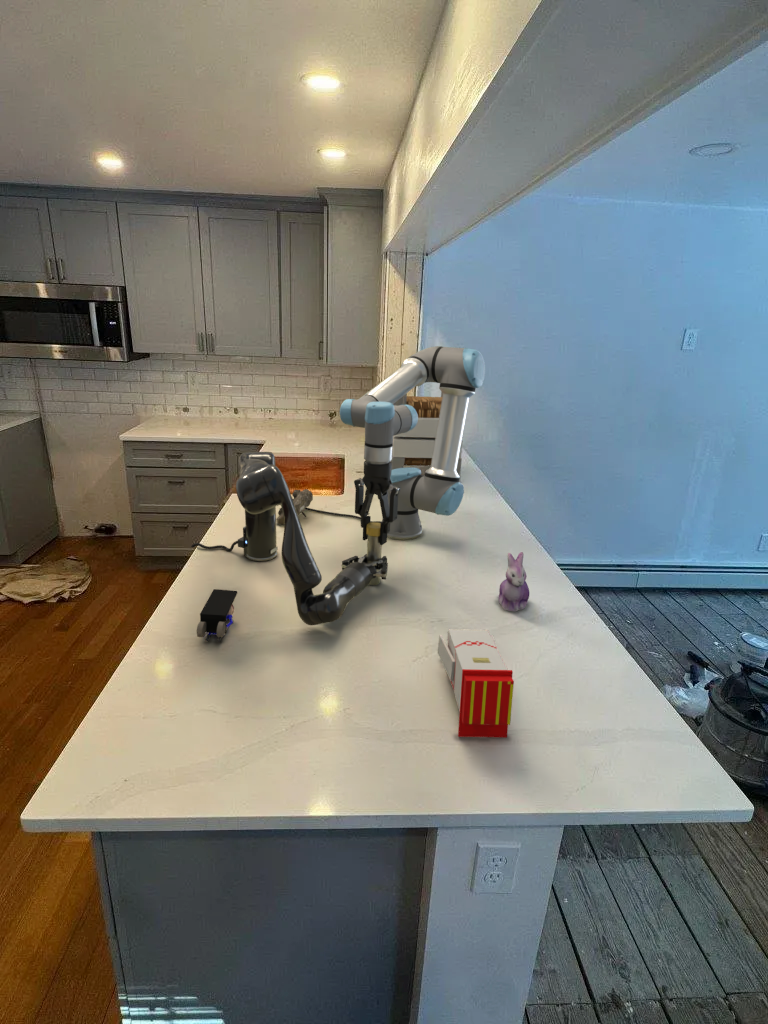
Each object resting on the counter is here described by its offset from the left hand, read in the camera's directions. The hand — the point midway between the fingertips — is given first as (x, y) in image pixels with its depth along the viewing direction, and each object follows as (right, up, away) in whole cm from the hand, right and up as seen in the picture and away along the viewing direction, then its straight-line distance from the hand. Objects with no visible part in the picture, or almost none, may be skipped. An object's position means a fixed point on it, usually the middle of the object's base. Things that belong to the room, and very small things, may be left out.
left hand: (377, 557), depth 164 cm
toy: (+20, -25, -46) cm, 55 cm away
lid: (-1, +9, -6) cm, 11 cm away
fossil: (-31, +11, +47) cm, 58 cm away
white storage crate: (+19, +32, +111) cm, 117 cm away
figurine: (+37, -12, -9) cm, 40 cm away
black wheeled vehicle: (-38, -15, -28) cm, 49 cm away
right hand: (-1, +5, -4) cm, 7 cm away
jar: (-1, -7, 0) cm, 7 cm away
